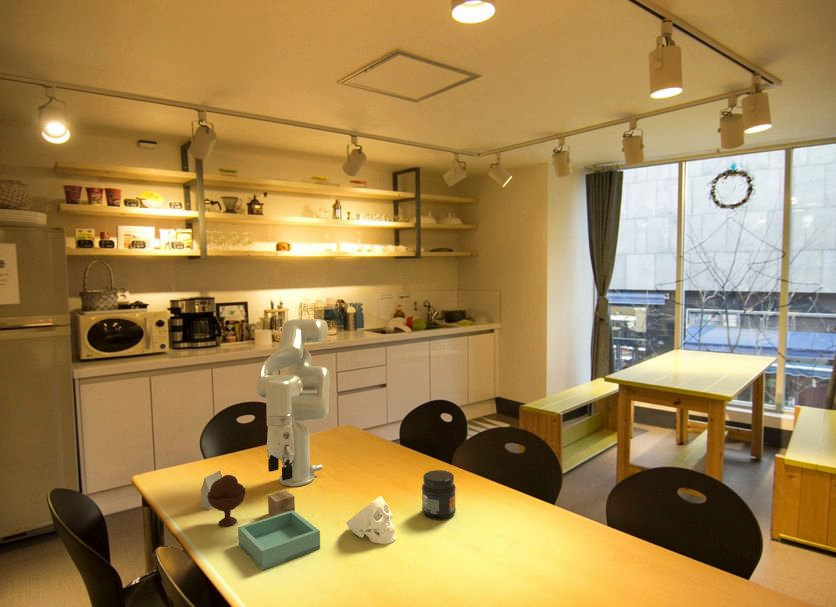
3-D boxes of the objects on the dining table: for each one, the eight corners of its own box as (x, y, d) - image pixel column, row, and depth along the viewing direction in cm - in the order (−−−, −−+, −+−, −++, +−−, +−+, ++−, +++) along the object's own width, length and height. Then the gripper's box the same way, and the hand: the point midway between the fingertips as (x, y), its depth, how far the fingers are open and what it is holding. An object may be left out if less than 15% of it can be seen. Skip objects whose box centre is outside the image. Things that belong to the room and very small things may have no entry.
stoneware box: (293, 526, 156) (292, 510, 156) (320, 548, 143) (319, 530, 143) (238, 544, 146) (238, 527, 145) (262, 570, 133) (261, 551, 133)
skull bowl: (389, 547, 141) (368, 504, 144) (354, 561, 148) (335, 520, 150) (410, 530, 150) (390, 490, 153) (376, 544, 157) (358, 506, 159)
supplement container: (460, 509, 167) (460, 472, 166) (448, 523, 157) (448, 484, 156) (430, 503, 171) (429, 467, 170) (416, 517, 161) (416, 478, 161)
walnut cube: (286, 508, 168) (285, 490, 168) (294, 515, 164) (294, 496, 163) (268, 514, 164) (268, 495, 164) (276, 520, 160) (276, 501, 160)
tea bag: (225, 501, 174) (224, 471, 173) (210, 509, 168) (209, 478, 167) (216, 499, 175) (215, 470, 175) (201, 507, 169) (200, 477, 169)
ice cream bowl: (254, 517, 162) (252, 469, 161) (230, 534, 151) (228, 483, 151) (225, 512, 165) (224, 465, 165) (200, 528, 155) (198, 479, 154)
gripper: (303, 423, 158) (304, 479, 158) (278, 412, 171) (279, 465, 172) (279, 427, 153) (280, 485, 154) (256, 416, 166) (257, 470, 167)
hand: (280, 474), depth 163 cm, fingers open, 9 cm apart
